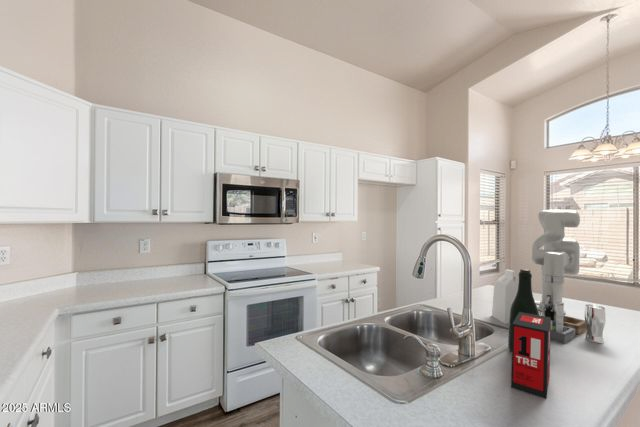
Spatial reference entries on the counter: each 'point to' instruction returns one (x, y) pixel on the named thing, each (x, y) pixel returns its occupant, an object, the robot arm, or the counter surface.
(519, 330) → the cleaning product box
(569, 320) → the walnut holder
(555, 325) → the syrup box
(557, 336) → the gray square frame
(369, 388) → the counter surface
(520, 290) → the dark green wine bottle
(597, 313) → the beer glass
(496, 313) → the milk
